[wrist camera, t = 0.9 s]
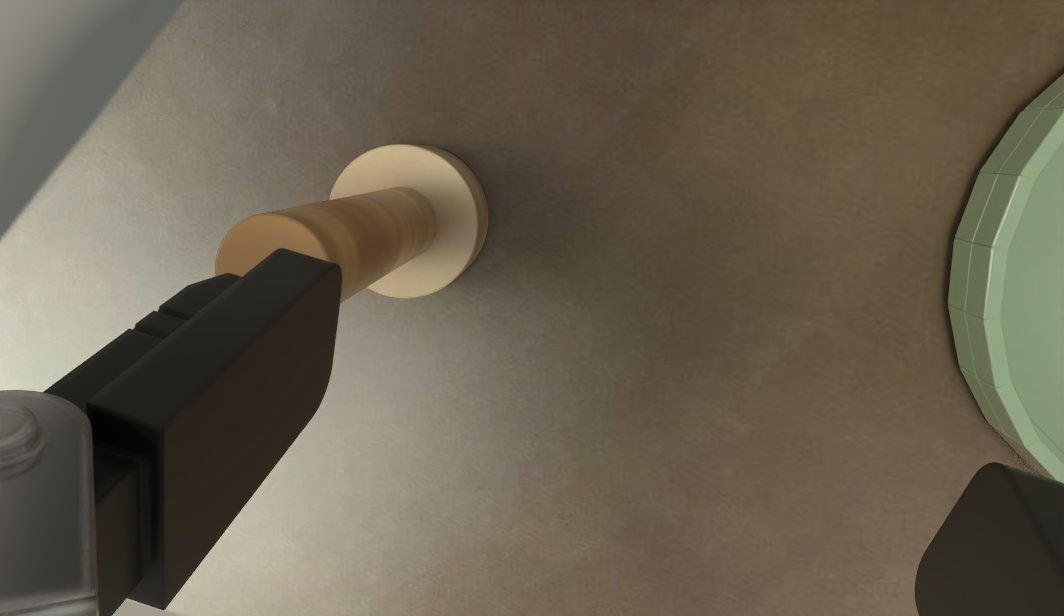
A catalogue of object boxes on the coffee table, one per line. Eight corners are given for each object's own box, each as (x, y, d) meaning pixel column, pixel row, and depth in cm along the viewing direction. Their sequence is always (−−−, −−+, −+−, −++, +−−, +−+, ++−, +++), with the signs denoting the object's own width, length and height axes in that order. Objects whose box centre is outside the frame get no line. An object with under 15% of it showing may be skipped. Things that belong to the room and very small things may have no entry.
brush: (346, 144, 32) (133, 141, 17) (487, 144, 31) (395, 140, 16) (353, 284, 33) (159, 396, 18) (489, 285, 32) (404, 400, 18)
